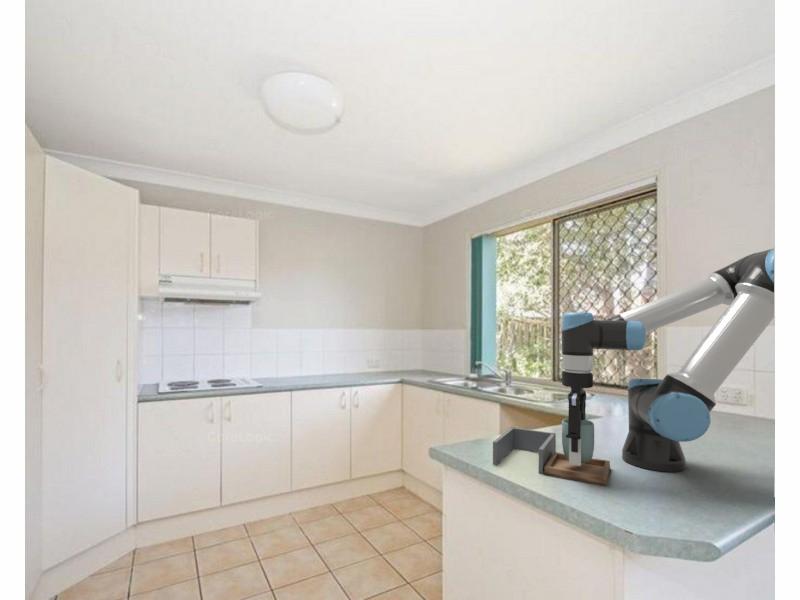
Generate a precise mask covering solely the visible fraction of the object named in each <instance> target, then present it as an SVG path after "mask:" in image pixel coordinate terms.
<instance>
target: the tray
mask: <svg viewBox="0 0 800 600" xmlns="http://www.w3.org/2000/svg"><path fill="white" fill-rule="evenodd" d="M610 471H611V460H606V459H599V458H595V457H592V459H591V460H590V461H589V462H587V463H581V466H578V465H572V464H569V460H568V459H567V458H566V456H565V455H564V452H554V453H553V455H552V456H551V458H550V459H549V461H548V462H547V464H546V465H545V467H544V473H543V474H544V475H545V476H548V477H553V478H554V477H555V478H560V479H565V480H571V481H576V482H581V483H586V484H592V485H597V486H601V487H607V484H608V478H609V474H610Z"/></svg>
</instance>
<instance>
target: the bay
mask: <svg viewBox="0 0 800 600" xmlns="http://www.w3.org/2000/svg"><path fill="white" fill-rule="evenodd" d="M556 434H557V433H555V432H550V431H549V432H548V431H541V430H533V429H529V428H527V429H526V428H520V427H513V426H511V427H509V428H508V429H507V430H506V431H505V432H503V433H502V434H501V435H500V436H498V437H497V438H496V439H495V440H493V441H492V465H495V466H497V465H499V463H500V462H501V461H503V460H504V458H506V457H507V455H509V454H510V453H511V452H512V451H513V450H515V449H516V450H521V451H522V450H523V451H527V450H528V451H529V452H533V451H534V452H533V453H538V474H542V475H543V474H544V467H545V465H546V464H547V462H548V461H549V459H550V458H551V456H552V455H553V453H554V452H556V451H557V449H556V448H557V446H556V443H557V440H556V437H557V436H556Z"/></svg>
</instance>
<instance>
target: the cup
mask: <svg viewBox="0 0 800 600" xmlns="http://www.w3.org/2000/svg"><path fill="white" fill-rule="evenodd" d="M572 433H575V432H572ZM566 435H568V418H562V420H561V445H562V451H563V452H562V453H563V454H564V455H565V456H566V458H567V459H568V460H569V438H566ZM580 436H581V438H580V439H581V463H587V462H589V461H590V460H591V459H592V458H594V457H593V455H594V453H595V452H594V450H595V423H594V422H593V421H591V420H588V419H586V420H581V428H580Z"/></svg>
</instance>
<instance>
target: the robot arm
mask: <svg viewBox="0 0 800 600" xmlns="http://www.w3.org/2000/svg"><path fill="white" fill-rule="evenodd" d="M774 248H775V247H773V248H771V249H767V250H763V251H759V252H754V253H752V254H749V255H746V256H744V257H742V258H740V259H738V260H737V261H734V262H733V263H730V264H728V265H726V266H724V267H722V268H720V269H718V270H715V271H713V272H711V273H709V274H708V276H707V277H706V279H703V280H701V281H699V282H696V283H694V284H691V285H689V286H686V287H683V288H681V289H679V290H676V291H674V292H671V293H669V294H668V293H667V294H666V295H664V296H661V297H658V298H656V299H654V300H650V301H649V302H647V303H644V304H641V305H638V306H636V307H634V308H631V309H629V310H626V311H624V312H621V313H619V314H616V315H614V316H611V317H609V318H606V319H602V320H599V319H598V320H597V319H595V318H594V316H593V313H592V312H579V311H578V312H573V311H570V312H565V313H564V314H563V315H562V320H561V321H562V324H561V325H562V326H561V354H562V355H561V357H560V358H559V361H560V362H561V367H562V369H563V371H562V372H561V384H562V385H563V386H564V387H566V388H570V389H571V390H570V392H569V393H568V396H567V401H568V416H567V417H568V435H566V438H569V464H572V465H578V466H581V439H580V438H581V436H580V428H581V420H587V418H586V407H587V406H586V402H587V401H586V399H587V393H586V390H584V389H590V388H593V387H594V374H593V373H592V371H593V370H594V350H612V351H613V350H614V351H617V350H619V351H641V350H643V349H644V347H645V345H646V341H647V333H649V332H652V331H654V330H656V329H659V328H663V327H665V326H667V325H670V324H672V323H673V324H674V323H675V322H678V321H680V320H683V319H686V318H688V317H691V316H693V315H696V314H699V313H701V312H704V311H707V310H710V309H712V308H714V307H717V306H719V305H726V306H727V308H725V310H724V311H723V313H722V314H721V315H720V317H719V318H718V319H717V321H716V322H715V323H714V324H713V326H712V327H711V329H710V330H709V331H708V332H707V334H706V335H705V336H704V337H703V338H702V340H701V341H700V343H699V344H698V345H697V347H695V348H694V350H693V352H691V354H690V356H689V357H688V358H687V360H685V362H684V363H683V365H681V367H680V369H679V370H678V371H677V372H673V373H671V372H670V373H667V374H666V375H665V376H664V378H663V379H658V378H657V379H654V378H631V379H630V380H629V381H628V387H627V398H628V399H627V400H628V401H627V402H628V405H627V406H628V432H627V436H626V439H625V441H624V444H623V447H622V450H621V453H622V454H621V457H622V460H623V461H625V462H626V463H627V464H630V465H633V466H635V467H639V468H642V469H647V470H651V471H657V472H669V473H670V472H671V473H672V472H673V473H674V472H675V473H676V472H681V471H682V472H683V471H685V469H686V468H687V460H686V456H685V454H684V452H683V448H682V446H681V443H683V442H684V443H685V442H693V441H695V440H697V439H699V438H701V437H702V436H704V435H705V434H706V433H707V431H708V429H709V428H710V425H711V421H712V419H711V413H710V412H711V411H712V410H713V409H714V408H715V406H716V405H717V400H716V397H715V393H716V392H717V391H718V389H719V388H720V387H721V386H722V384H723V383H724V382H725V380H726V379H727V378H728V377H729V376H730V374H731V373H732V372H733V370H734V369H735V368H736V367H737V365H738V364H739V363H740V362H741V360H743V358H744V357H745V356H746V354H747V353H748V351H749V350H750V349H751V348H752V346H753V345H754V344H755V343H756V341H757V340H758V339H759V337H760V336H761V335H762V334H763V332H764V331H765V330H766V328H768V326H769V325H770V323H771V322H772V321H773V320H774V319H775V317H774ZM572 432H575V433H572ZM680 442H681V443H680Z"/></svg>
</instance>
